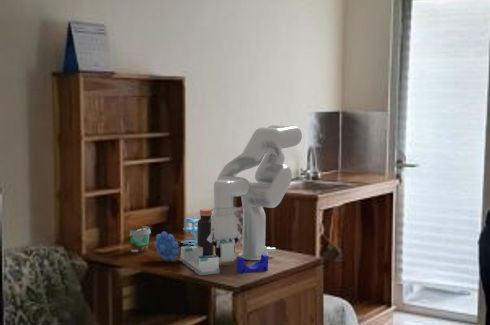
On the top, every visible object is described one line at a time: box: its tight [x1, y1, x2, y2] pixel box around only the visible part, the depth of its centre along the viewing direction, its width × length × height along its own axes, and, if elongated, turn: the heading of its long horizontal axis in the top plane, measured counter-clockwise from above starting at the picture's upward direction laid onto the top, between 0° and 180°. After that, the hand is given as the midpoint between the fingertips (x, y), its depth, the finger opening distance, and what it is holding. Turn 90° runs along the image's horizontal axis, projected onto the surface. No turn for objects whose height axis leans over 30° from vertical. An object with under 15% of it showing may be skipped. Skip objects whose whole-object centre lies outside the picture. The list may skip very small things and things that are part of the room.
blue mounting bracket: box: [236, 254, 269, 274], centre depth 279 cm, size 12×4×6 cm, turn 116°
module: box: [217, 239, 235, 263], centre depth 285 cm, size 5×7×8 cm
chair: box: [180, 217, 200, 246], centre depth 326 cm, size 8×8×12 cm
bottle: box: [196, 208, 215, 256], centre depth 299 cm, size 7×7×20 cm
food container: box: [129, 225, 152, 254], centre depth 307 cm, size 12×6×10 cm, turn 161°
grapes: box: [153, 231, 180, 262], centre depth 291 cm, size 12×7×12 cm, turn 64°
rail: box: [179, 245, 220, 276], centre depth 283 cm, size 8×24×6 cm, turn 23°
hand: (225, 255), depth 286 cm, fingers closed on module, 5 cm apart
